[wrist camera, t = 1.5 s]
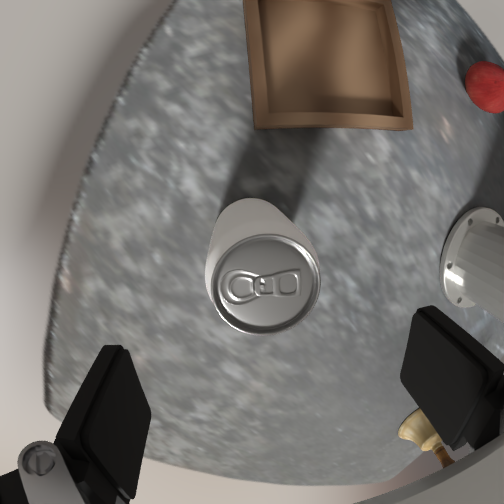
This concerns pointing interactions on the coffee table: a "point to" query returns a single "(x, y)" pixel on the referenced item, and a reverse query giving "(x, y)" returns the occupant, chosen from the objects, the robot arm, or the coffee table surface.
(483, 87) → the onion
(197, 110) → the coffee table surface
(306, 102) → the tray
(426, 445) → the hand bell
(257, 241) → the can
